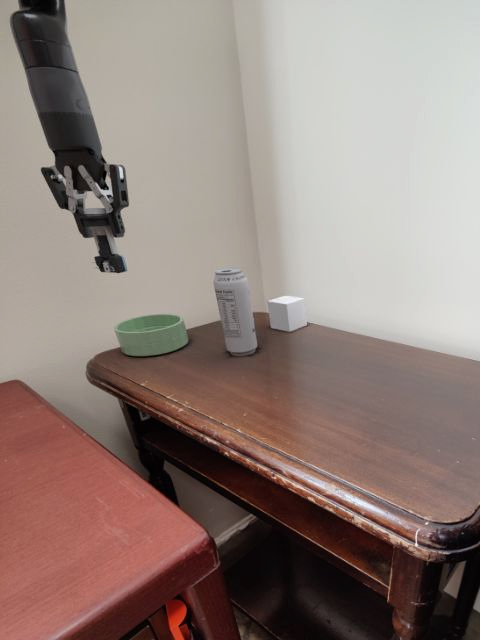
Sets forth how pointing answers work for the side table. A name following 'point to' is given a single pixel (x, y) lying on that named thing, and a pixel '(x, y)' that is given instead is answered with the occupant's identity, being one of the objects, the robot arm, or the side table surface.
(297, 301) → the white cube
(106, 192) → the robot arm
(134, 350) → the bowl
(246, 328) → the energy drink can
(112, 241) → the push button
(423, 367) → the side table surface
